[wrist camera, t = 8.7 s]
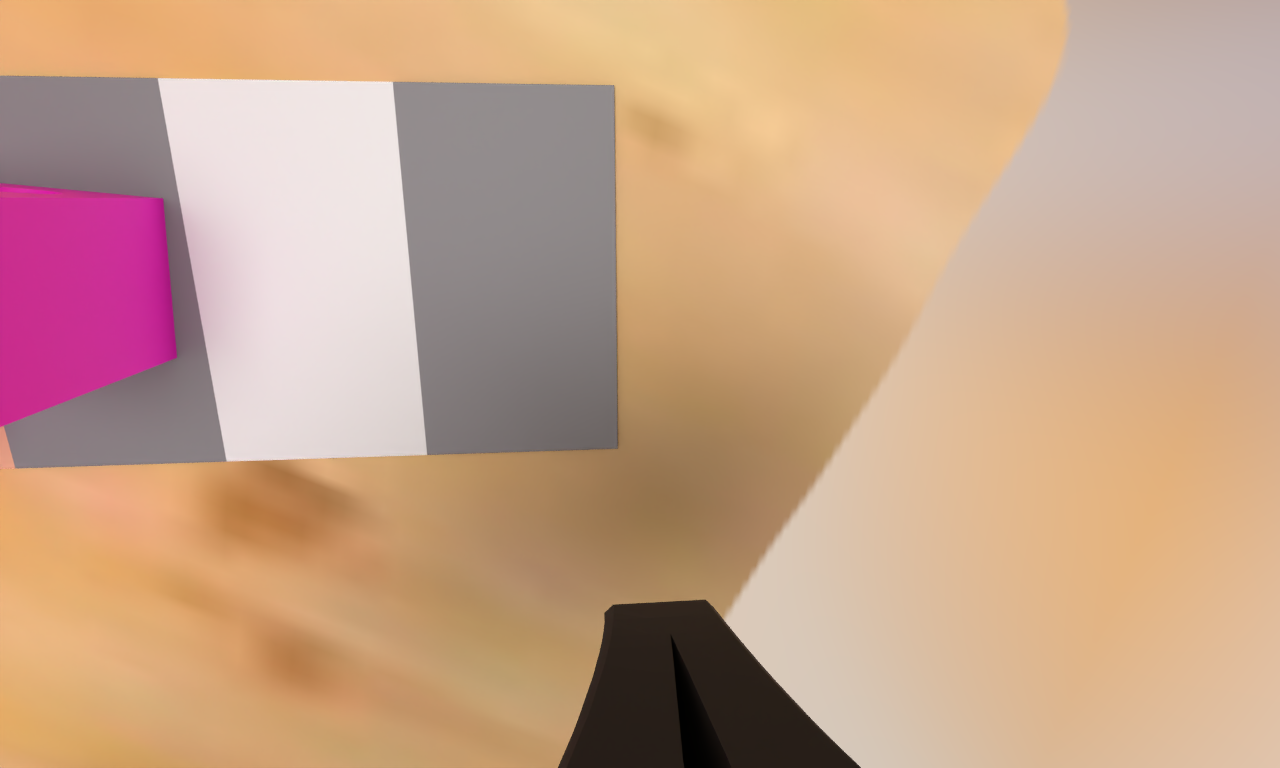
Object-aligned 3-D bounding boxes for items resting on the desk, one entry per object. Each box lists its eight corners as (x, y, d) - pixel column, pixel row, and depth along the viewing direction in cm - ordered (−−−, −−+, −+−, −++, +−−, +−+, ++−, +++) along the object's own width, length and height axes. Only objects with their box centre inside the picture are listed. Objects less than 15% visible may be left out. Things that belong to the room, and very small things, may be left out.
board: (616, 440, 18) (617, 448, 18) (-407, 473, 16) (-444, 483, 16) (613, 89, 16) (614, 85, 15) (-591, 71, 14) (-643, 65, 13)
